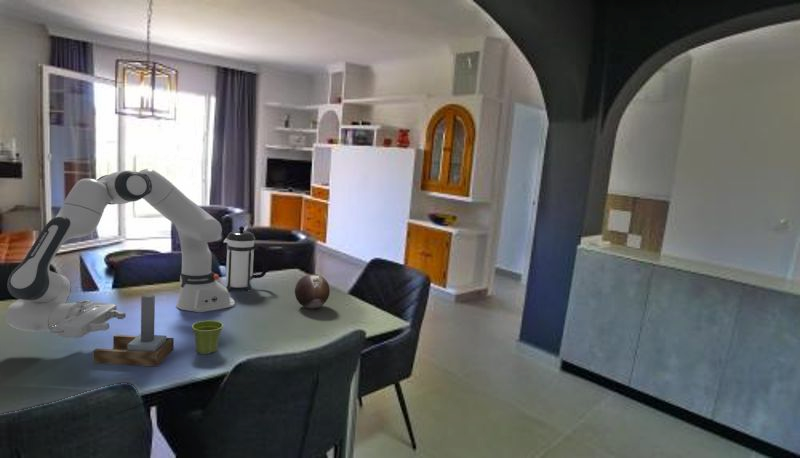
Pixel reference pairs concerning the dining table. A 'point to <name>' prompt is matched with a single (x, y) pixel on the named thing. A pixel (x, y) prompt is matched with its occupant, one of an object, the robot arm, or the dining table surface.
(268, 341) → the dining table surface
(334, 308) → the dining table surface
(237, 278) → the coffee press
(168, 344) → the bay
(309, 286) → the brown ball
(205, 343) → the plant pot
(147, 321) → the gray post
